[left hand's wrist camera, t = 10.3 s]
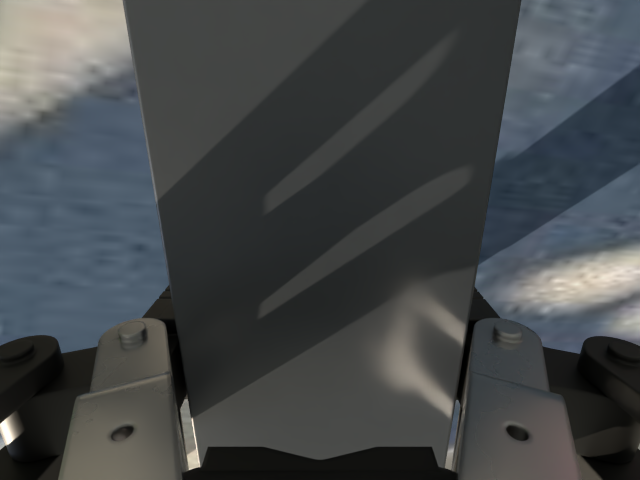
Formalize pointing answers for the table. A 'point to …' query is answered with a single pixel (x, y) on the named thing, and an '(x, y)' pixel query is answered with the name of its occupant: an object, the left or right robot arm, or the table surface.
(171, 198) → the box
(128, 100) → the table surface
